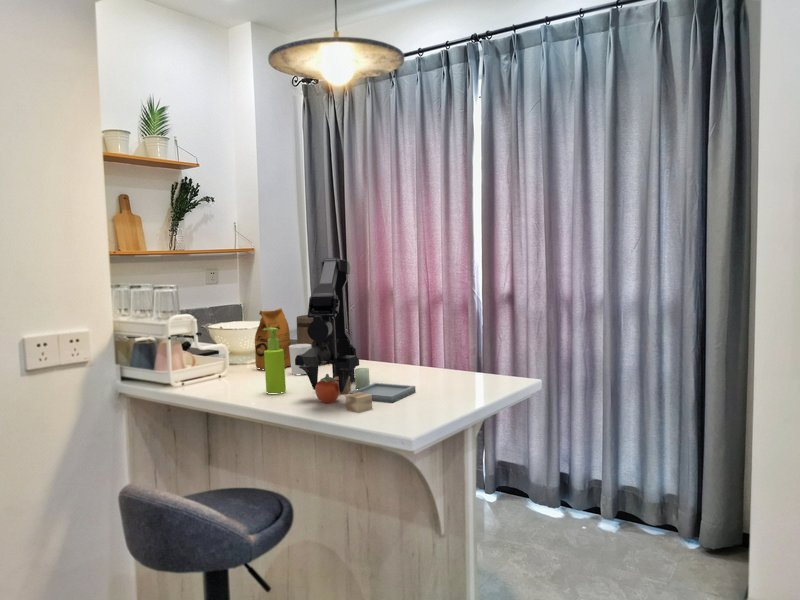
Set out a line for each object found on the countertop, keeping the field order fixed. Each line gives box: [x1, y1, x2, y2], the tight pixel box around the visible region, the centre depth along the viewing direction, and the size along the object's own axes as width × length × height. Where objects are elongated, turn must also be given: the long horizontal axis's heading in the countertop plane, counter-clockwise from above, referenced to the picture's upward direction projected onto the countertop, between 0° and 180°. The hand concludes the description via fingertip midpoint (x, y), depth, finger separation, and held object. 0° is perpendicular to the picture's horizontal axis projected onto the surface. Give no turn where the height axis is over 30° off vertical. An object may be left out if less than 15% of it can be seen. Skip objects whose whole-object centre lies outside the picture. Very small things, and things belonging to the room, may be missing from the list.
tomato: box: [314, 373, 341, 404], centre depth 180 cm, size 7×7×8 cm
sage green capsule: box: [354, 367, 371, 390], centre depth 196 cm, size 4×4×6 cm
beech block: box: [344, 392, 373, 413], centre depth 170 cm, size 5×5×4 cm
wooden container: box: [296, 311, 327, 366], centre depth 244 cm, size 15×15×22 cm
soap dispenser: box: [263, 327, 287, 393], centre depth 194 cm, size 6×7×20 cm
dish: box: [349, 382, 417, 404], centre depth 185 cm, size 14×14×2 cm
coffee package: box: [254, 308, 292, 371], centre depth 236 cm, size 10×12×22 cm
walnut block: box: [332, 377, 352, 395], centre depth 191 cm, size 4×4×4 cm
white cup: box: [289, 343, 311, 375], centre depth 223 cm, size 8×8×10 cm
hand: (328, 390), depth 180 cm, fingers open, 9 cm apart
